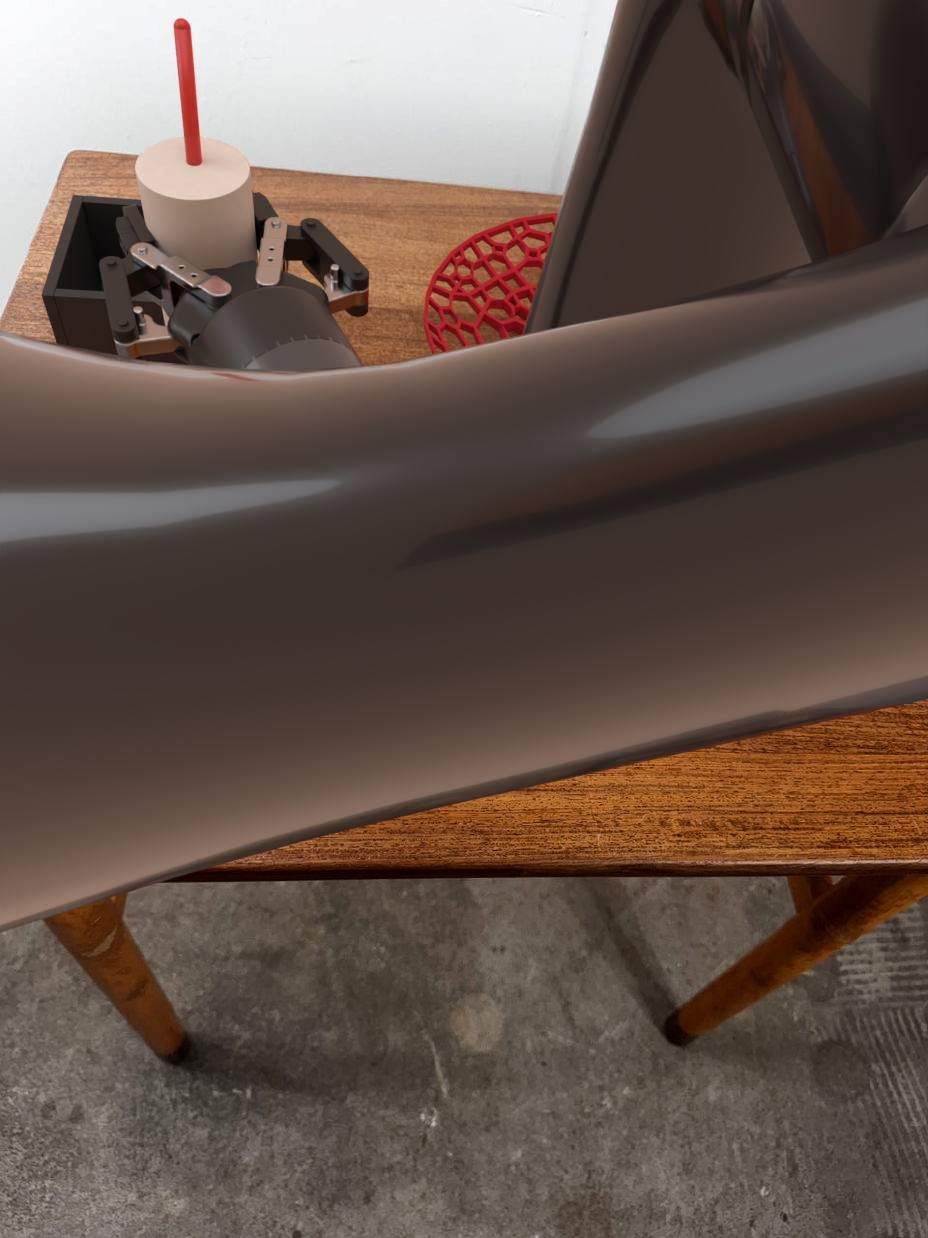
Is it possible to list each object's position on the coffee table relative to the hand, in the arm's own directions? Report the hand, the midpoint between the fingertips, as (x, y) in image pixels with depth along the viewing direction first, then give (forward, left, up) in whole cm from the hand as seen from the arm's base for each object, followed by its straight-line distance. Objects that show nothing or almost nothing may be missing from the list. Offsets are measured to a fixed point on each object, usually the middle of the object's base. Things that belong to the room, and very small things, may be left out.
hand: (188, 210), depth 52 cm
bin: (-6, +11, -18) cm, 22 cm away
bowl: (+29, +9, -18) cm, 36 cm away
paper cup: (+1, -2, -6) cm, 6 cm away
